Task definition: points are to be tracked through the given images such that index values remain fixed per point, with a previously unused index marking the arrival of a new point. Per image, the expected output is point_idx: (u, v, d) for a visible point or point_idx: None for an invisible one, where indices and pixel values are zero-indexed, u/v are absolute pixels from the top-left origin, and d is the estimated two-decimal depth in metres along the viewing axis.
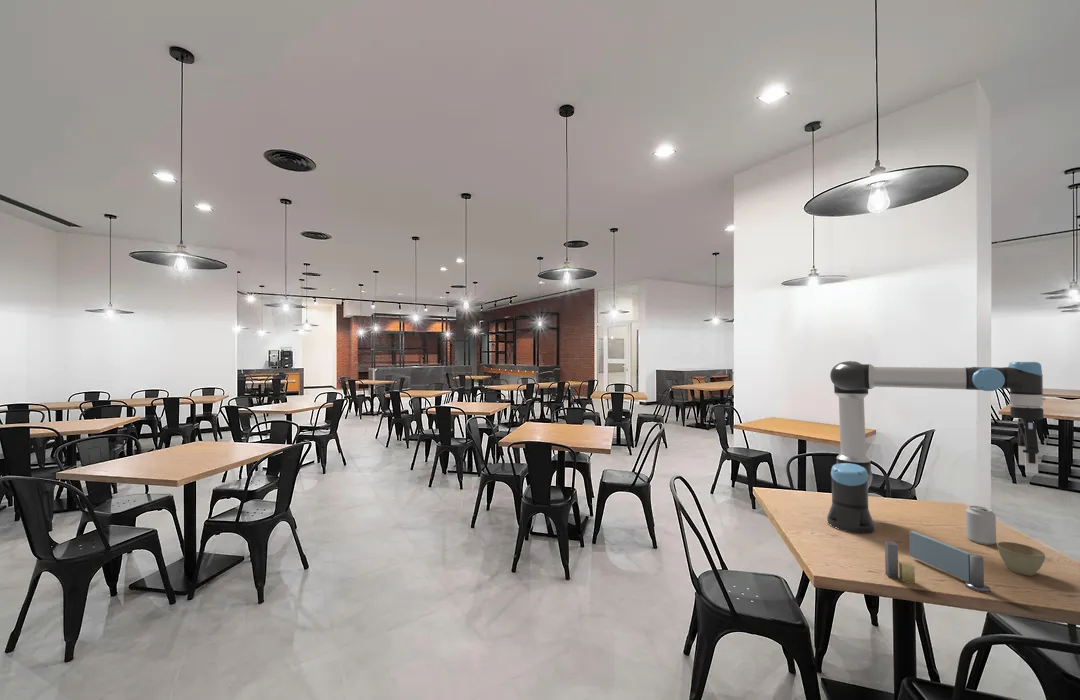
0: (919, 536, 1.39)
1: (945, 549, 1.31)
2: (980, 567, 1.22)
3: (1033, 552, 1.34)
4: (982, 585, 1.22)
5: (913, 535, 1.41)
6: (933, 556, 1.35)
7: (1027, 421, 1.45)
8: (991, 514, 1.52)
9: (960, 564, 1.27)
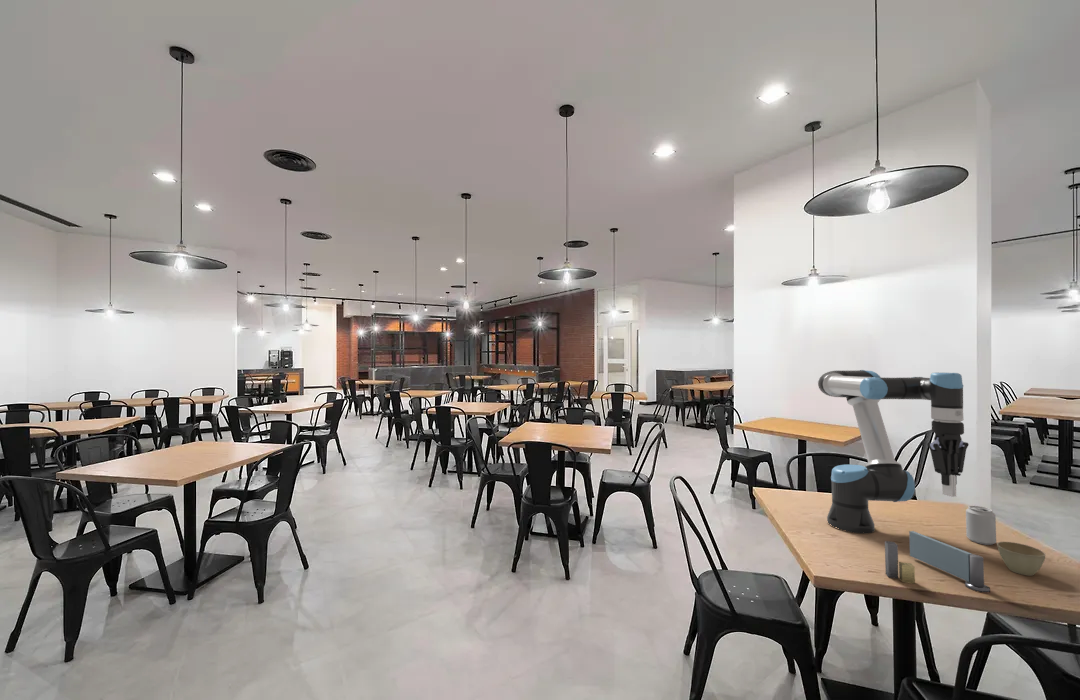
0: (919, 536, 1.39)
1: (945, 549, 1.31)
2: (980, 567, 1.22)
3: (1033, 552, 1.34)
4: (982, 585, 1.22)
5: (913, 535, 1.41)
6: (933, 556, 1.35)
7: (937, 435, 1.37)
8: (991, 514, 1.52)
9: (960, 564, 1.27)
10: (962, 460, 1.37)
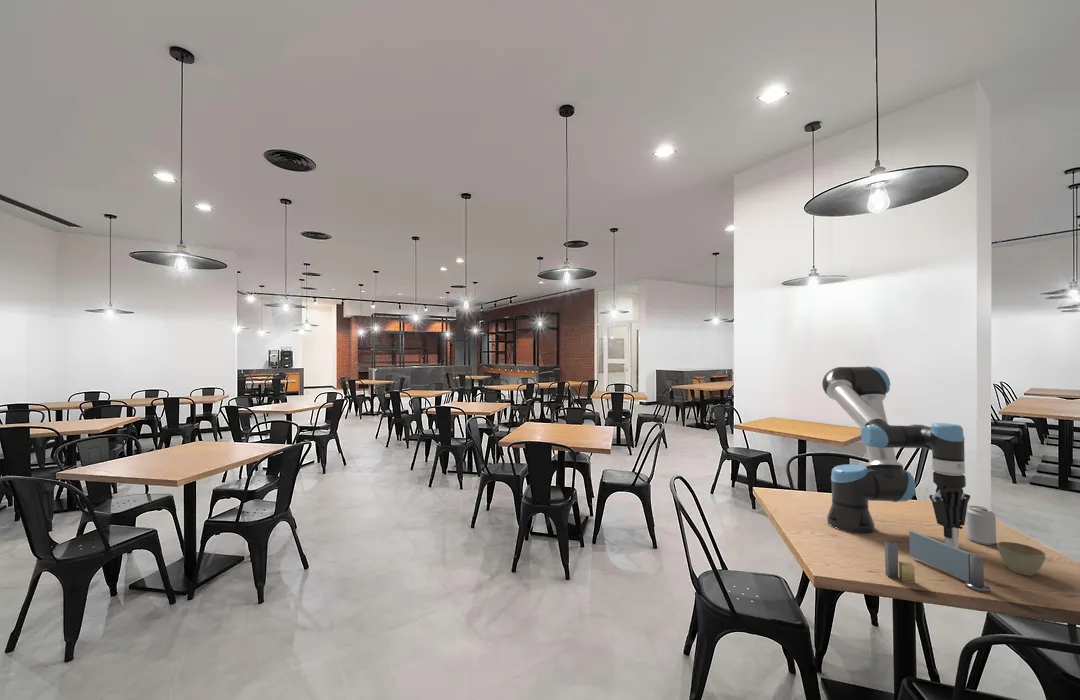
0: (919, 536, 1.39)
1: (945, 549, 1.31)
2: (980, 567, 1.22)
3: (1033, 552, 1.34)
4: (982, 585, 1.22)
5: (913, 535, 1.41)
6: (933, 556, 1.35)
7: (938, 488, 1.37)
8: (991, 514, 1.52)
9: (960, 564, 1.27)
10: (964, 513, 1.36)
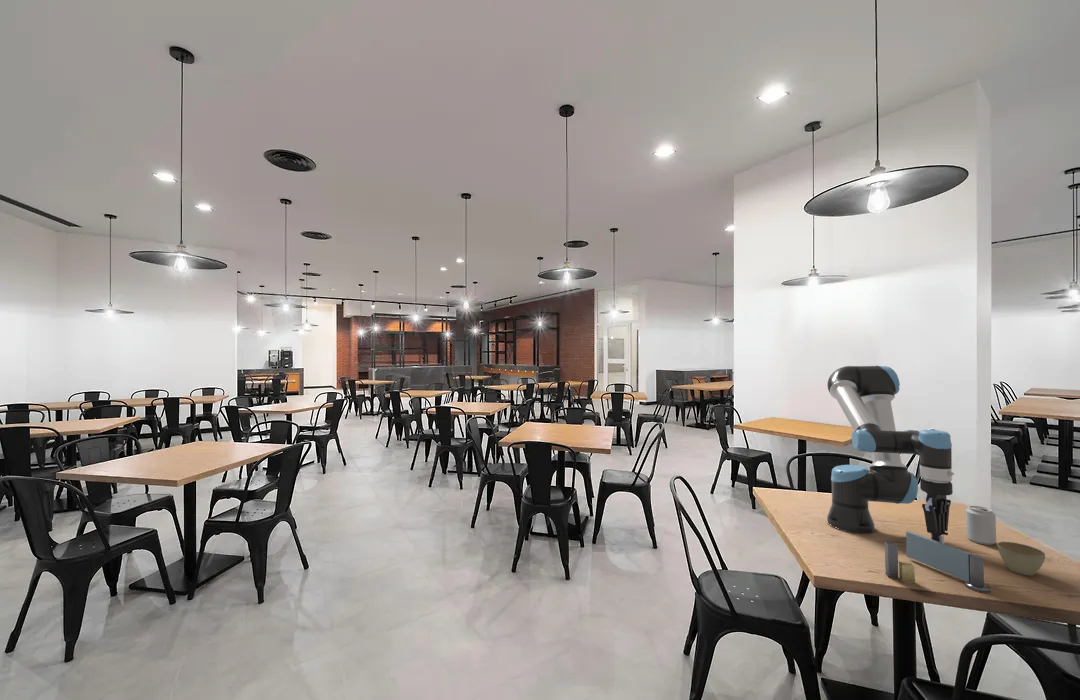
0: (916, 536, 1.38)
1: (944, 549, 1.31)
2: (980, 567, 1.22)
3: (1033, 552, 1.34)
4: (982, 585, 1.22)
5: (910, 535, 1.40)
6: (931, 556, 1.34)
7: (929, 496, 1.35)
8: (991, 514, 1.52)
9: (959, 564, 1.27)
10: (947, 518, 1.37)
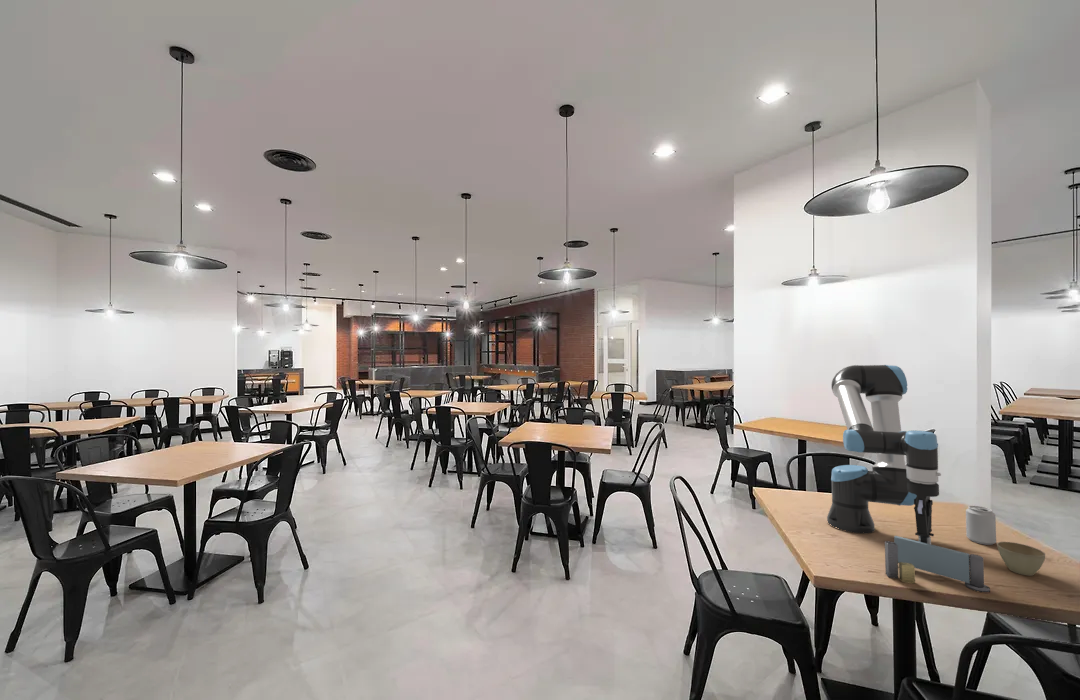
0: (907, 541, 1.35)
1: (940, 552, 1.29)
2: (982, 567, 1.22)
3: (1033, 552, 1.34)
4: (983, 585, 1.23)
5: (899, 540, 1.37)
6: (925, 560, 1.32)
7: (919, 498, 1.33)
8: (991, 514, 1.52)
9: (958, 566, 1.26)
10: (931, 519, 1.37)
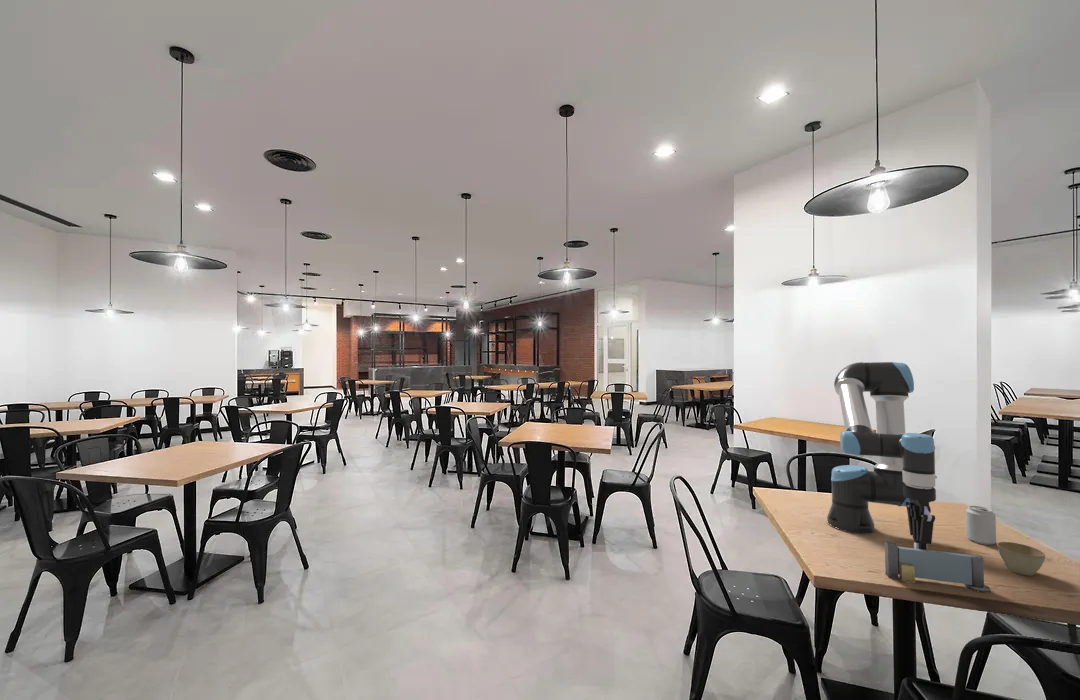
0: (912, 551, 1.28)
1: (945, 557, 1.26)
2: (983, 566, 1.23)
3: (1033, 552, 1.34)
4: None
5: (904, 551, 1.29)
6: (930, 568, 1.27)
7: (924, 504, 1.27)
8: (991, 514, 1.52)
9: (962, 569, 1.24)
10: None
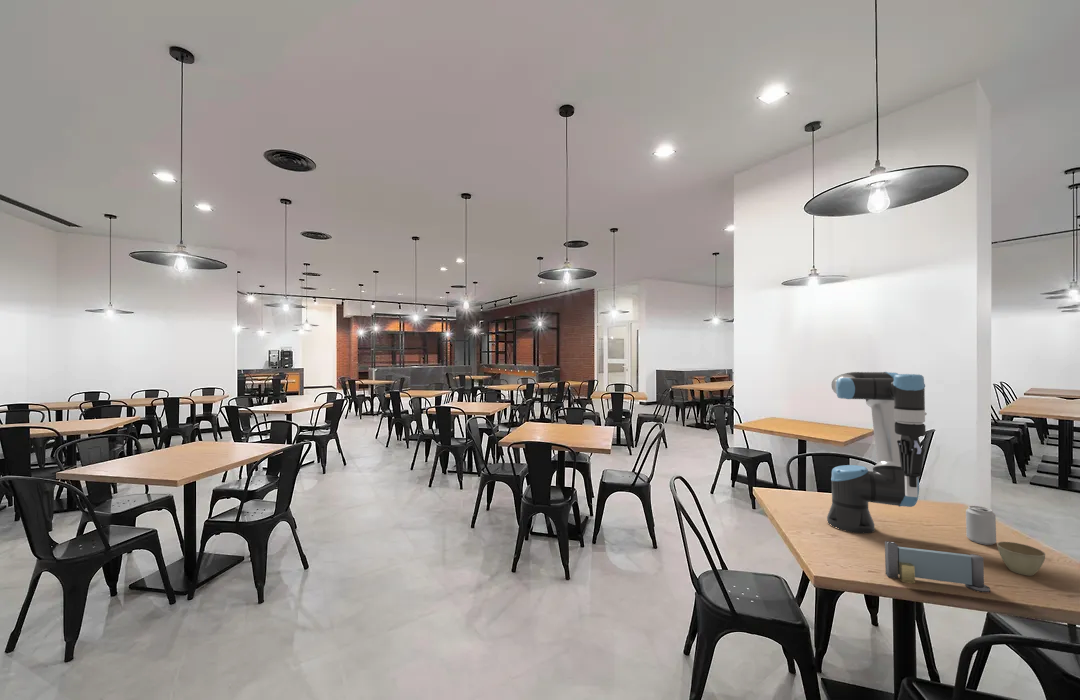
0: (912, 551, 1.28)
1: (945, 557, 1.26)
2: (983, 566, 1.23)
3: (1033, 552, 1.34)
4: None
5: (904, 551, 1.29)
6: (929, 568, 1.27)
7: (914, 439, 1.35)
8: (991, 514, 1.52)
9: (962, 569, 1.24)
10: None
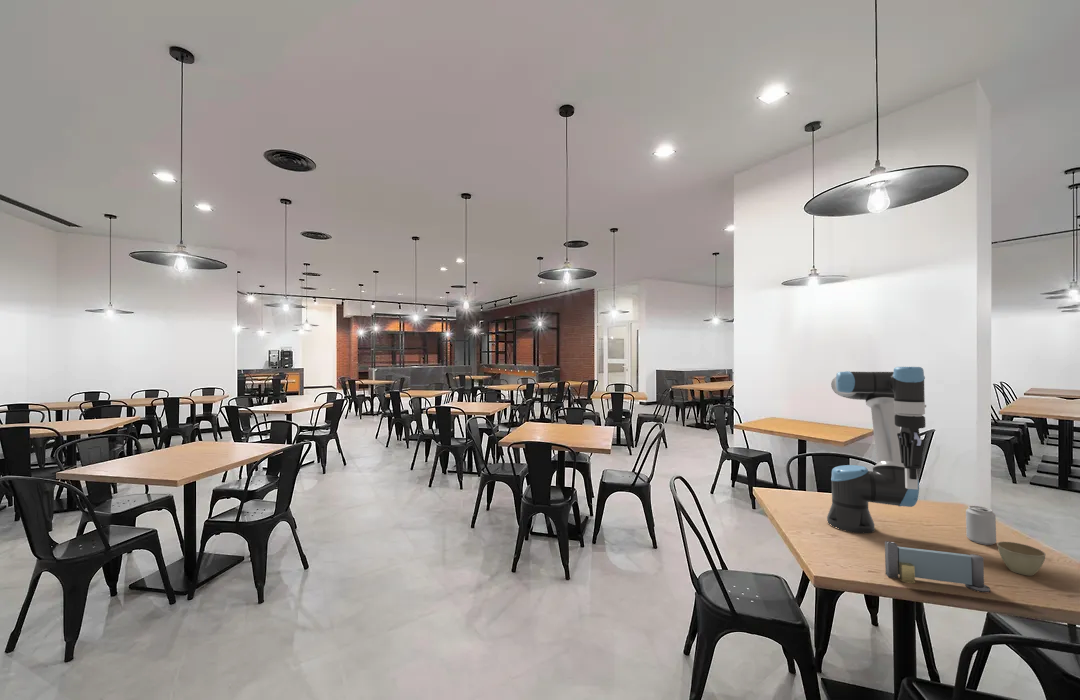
0: (912, 551, 1.28)
1: (945, 557, 1.26)
2: (983, 566, 1.23)
3: (1033, 552, 1.34)
4: None
5: (904, 551, 1.29)
6: (929, 568, 1.27)
7: (914, 431, 1.35)
8: (991, 514, 1.52)
9: (962, 569, 1.24)
10: None
